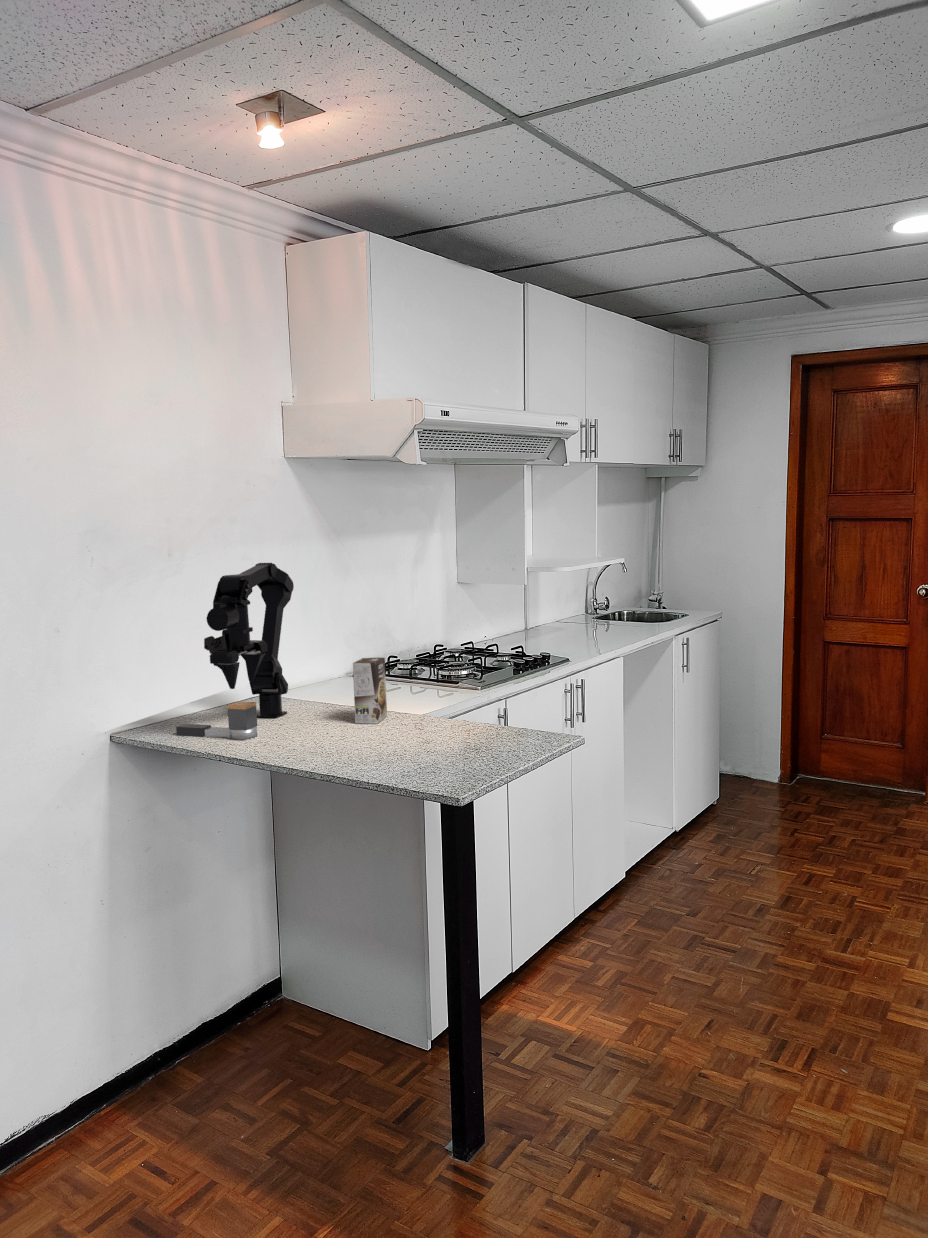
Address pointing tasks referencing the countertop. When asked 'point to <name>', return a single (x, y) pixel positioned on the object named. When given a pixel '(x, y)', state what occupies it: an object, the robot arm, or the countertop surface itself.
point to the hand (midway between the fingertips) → (241, 685)
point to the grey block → (242, 715)
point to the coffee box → (370, 690)
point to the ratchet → (215, 732)
